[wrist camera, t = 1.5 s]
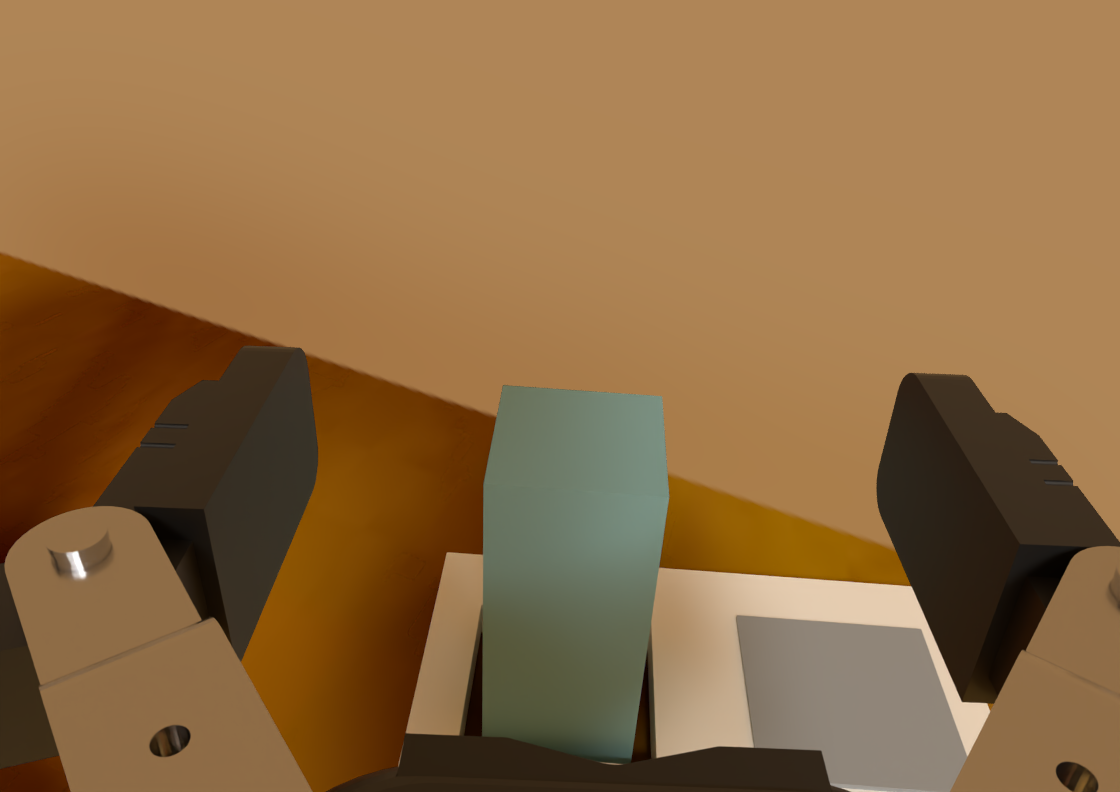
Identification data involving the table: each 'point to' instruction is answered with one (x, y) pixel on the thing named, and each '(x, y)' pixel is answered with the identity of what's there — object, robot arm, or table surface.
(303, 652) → the table surface
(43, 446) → the table surface
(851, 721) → the puzzle board
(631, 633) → the teal block
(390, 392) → the table surface
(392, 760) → the table surface
